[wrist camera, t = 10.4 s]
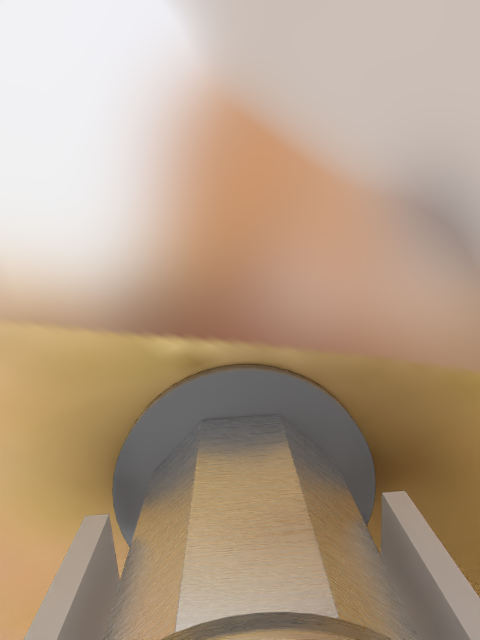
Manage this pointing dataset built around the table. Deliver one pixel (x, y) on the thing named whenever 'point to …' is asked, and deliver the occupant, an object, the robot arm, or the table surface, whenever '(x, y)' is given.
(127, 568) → the grey cylinder
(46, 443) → the table surface
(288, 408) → the coaster
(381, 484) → the table surface
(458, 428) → the table surface
